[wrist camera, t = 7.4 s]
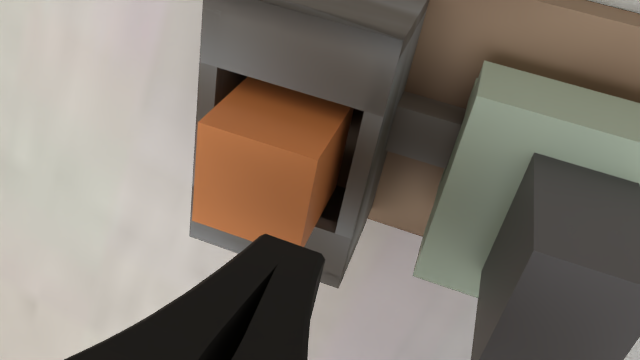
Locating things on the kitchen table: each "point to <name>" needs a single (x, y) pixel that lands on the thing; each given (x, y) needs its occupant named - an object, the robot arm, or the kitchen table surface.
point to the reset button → (268, 161)
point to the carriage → (541, 219)
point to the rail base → (401, 86)
